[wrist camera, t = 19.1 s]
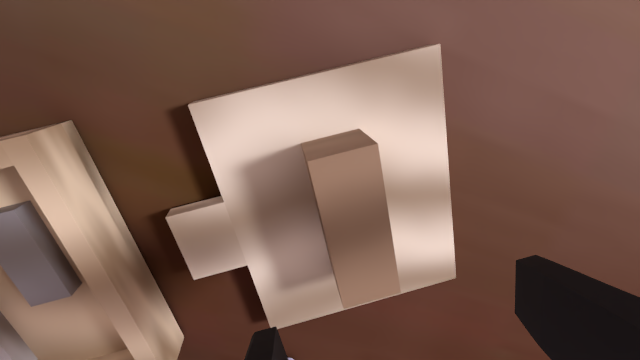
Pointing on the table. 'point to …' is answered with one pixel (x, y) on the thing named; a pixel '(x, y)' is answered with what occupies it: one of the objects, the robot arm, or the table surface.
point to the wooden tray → (71, 260)
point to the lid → (327, 186)
